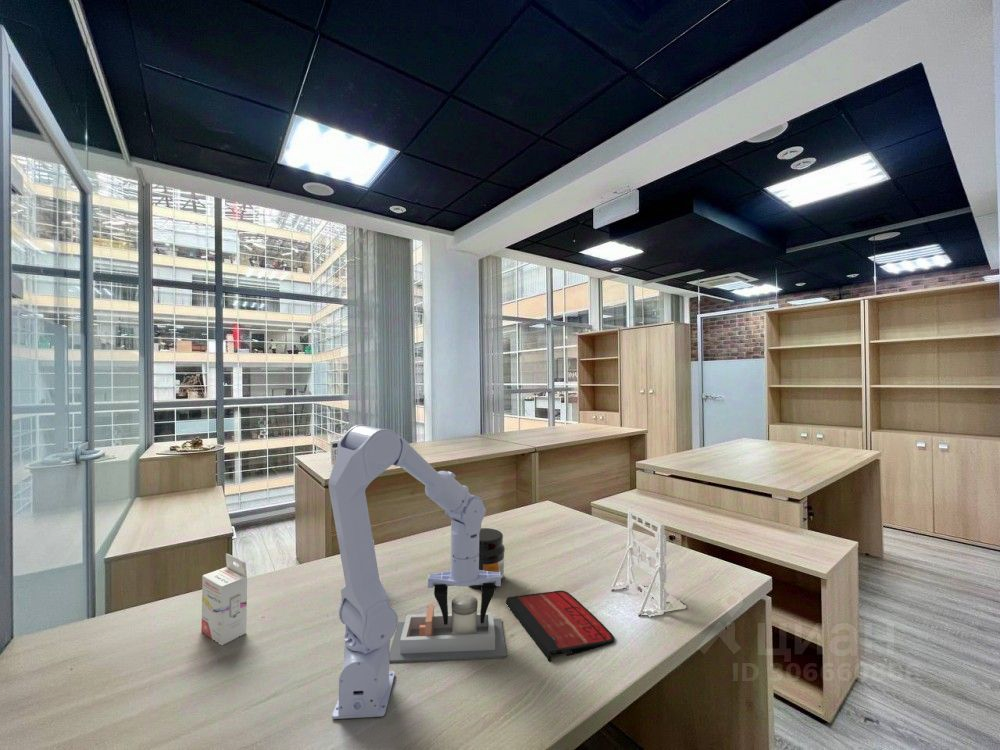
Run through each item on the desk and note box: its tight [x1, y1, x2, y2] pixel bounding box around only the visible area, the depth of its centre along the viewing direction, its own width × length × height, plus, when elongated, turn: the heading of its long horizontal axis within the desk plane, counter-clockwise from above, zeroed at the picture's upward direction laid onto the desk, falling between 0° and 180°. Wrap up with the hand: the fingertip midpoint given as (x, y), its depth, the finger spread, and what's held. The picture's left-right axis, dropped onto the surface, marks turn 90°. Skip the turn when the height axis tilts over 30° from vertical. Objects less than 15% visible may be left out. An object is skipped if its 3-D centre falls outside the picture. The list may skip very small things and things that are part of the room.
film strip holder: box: [611, 507, 667, 615], centre depth 99 cm, size 14×14×20 cm
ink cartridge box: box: [200, 552, 248, 646], centre depth 84 cm, size 9×5×15 cm, turn 59°
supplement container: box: [470, 527, 506, 590], centre depth 107 cm, size 10×10×12 cm
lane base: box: [389, 611, 507, 664], centre depth 82 cm, size 12×22×3 cm, turn 94°
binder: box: [505, 590, 615, 662], centre depth 89 cm, size 16×2×21 cm
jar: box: [451, 594, 478, 635], centre depth 83 cm, size 5×5×7 cm
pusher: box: [419, 604, 435, 636], centre depth 82 cm, size 6×3×5 cm, turn 4°
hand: (464, 621), depth 82 cm, fingers open, 7 cm apart
